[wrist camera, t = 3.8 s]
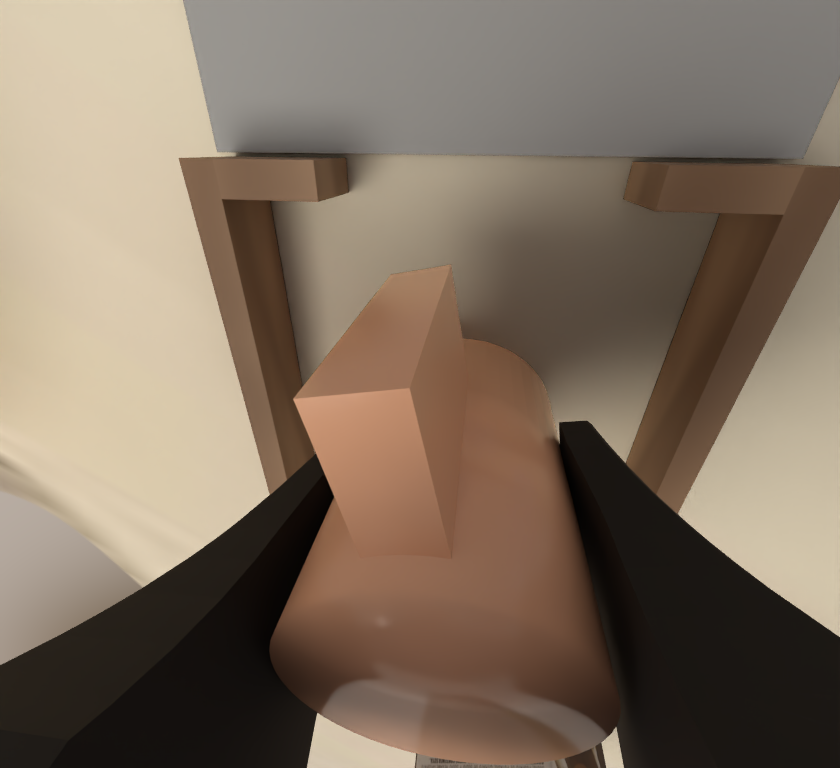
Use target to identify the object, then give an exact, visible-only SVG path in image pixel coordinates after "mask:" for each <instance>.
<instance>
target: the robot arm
mask: <svg viewBox="0 0 840 768" xmlns="http://www.w3.org/2000/svg"><path fill="white" fill-rule="evenodd" d="M559 431H560V448H561V452H562V456H563V460H564V465H565V469H566V473H567V477H568V482H569V486H570V490H571V494H572V499H573V503H574V507H575V511H576V516H577V520H578V524H579V528H580V533H581V537H582V541H583V545H584V550H585V554H586V558H587V562H588V567H589V571H590V575H591V579H592V584H593V588H594V592H595V596H596V601H597V605H598V609H599V613H600V618H601V622H602V626H603V630H604V635H605V639H606V643H607V647H608V652H609V656H610V660H611V665H612V669H613V673H614V677H615V682H616V686H617V690H618V694H619V699H620V710H621V714H620V717H619V721H618V724H617V725H616V727H617V732H618V738H619V743H620V748H621V754H622V759H623V764H624V768H840V637H839V636H837V635H836V634H834V633H833V632H831V631H830V630H829V629H827V628H826V627H824V626H823V625H821V624H820V623H819V622H817V621H816V620H814V619H813V618H811V617H810V616H808V615H807V614H806V613H804V612H803V611H801V610H800V609H798V608H797V607H795V606H794V605H793V604H791V603H790V602H788V601H787V600H785V599H784V598H783V597H781V596H780V595H778V594H777V593H775V592H774V591H772V590H771V589H770V588H768V587H767V586H766V585H764V584H763V583H762V582H760V581H759V580H758V579H756V578H755V577H754V576H752V575H751V574H750V573H748V572H747V571H746V570H744V569H743V568H742V567H740V566H739V565H738V564H736V563H735V562H734V561H733V560H731V559H730V558H729V557H728V556H726V555H725V554H724V553H723V552H721V551H720V550H719V549H718V548H716V547H715V546H714V545H713V544H711V543H710V542H709V541H708V540H707V539H705V538H704V537H703V536H702V535H701V534H700V533H698V532H697V531H696V530H695V529H694V528H693V527H691V526H690V525H689V524H688V523H687V522H686V521H684V520H683V519H682V518H681V517H680V516H679V515H678V514H677V513H676V512H675V511H673V510H672V509H671V508H670V507H669V506H668V505H667V504H666V503H665V502H664V501H663V500H662V499H660V498H659V497H658V496H657V495H656V494H655V493H654V492H653V491H652V490H651V489H650V488H649V487H648V486H647V485H646V484H645V483H644V482H643V481H642V480H641V479H640V478H639V477H638V476H637V475H636V474H635V473H634V472H633V471H632V470H631V469H630V468H629V467H628V466H627V464H626V463H625V462H624V461H623V460H622V459H621V458H620V457H619V456H618V455H617V454H616V452H615V451H614V450H613V449H612V448H611V447H610V446H609V445H608V443H607V442H606V441H605V440H604V439H603V438H602V436H601V435H600V434H599V433H598V432H597V430H596V429H595V428H594V427H593V425H592V424H591V423H589V422H588V421H575V422H559ZM333 498H334V495H333V492H332V490H331V487H330V485H329V483H328V480H327V478H326V476H325V473H324V471H323V469H322V466H321V464H320V461H319V459H318V457H317V454H315V455H314V456H313V457H312V458H311V459H309V460H308V461H307V462H306V463H305V464H304V465H303V466H302V467H301V468H300V469H299V470H297V471H296V472H295V473H294V474H293V475H292V476H291V477H290V478H289V479H287V480H286V481H285V482H284V483H283V484H282V485H281V486H280V487H279V488H277V489H276V490H275V491H274V492H273V493H272V494H271V495H269V496H268V497H267V498H266V499H265V500H263V501H262V502H261V503H260V504H259V505H257V506H256V507H255V508H254V509H253V510H251V511H250V512H249V513H248V514H247V515H246V516H244V517H243V518H242V519H241V520H240V521H238V522H237V523H236V524H234V525H233V526H232V527H231V528H229V529H228V530H227V531H225V532H224V533H223V534H221V535H220V536H219V537H217V538H216V539H215V540H213V541H212V542H211V543H209V544H208V545H206V546H205V547H204V548H202V549H201V550H199V551H198V552H197V553H195V554H194V555H192V556H191V557H189V558H188V559H187V560H185V561H183V562H182V563H180V564H179V565H177V566H176V567H174V568H173V569H171V570H170V571H168V572H166V573H165V574H163V575H162V576H160V577H159V578H157V579H156V580H154V581H153V582H151V583H149V584H148V585H146V586H145V587H143V588H142V589H140V590H138V591H137V592H135V593H134V594H132V595H130V596H128V597H127V598H125V599H123V600H122V601H120V602H118V603H117V604H115V605H113V606H112V607H110V608H108V609H106V610H104V611H103V612H101V613H99V614H97V615H96V616H94V617H92V618H90V619H89V620H87V621H85V622H83V623H81V624H79V625H78V626H76V627H74V628H72V629H70V630H68V631H67V632H65V633H63V634H61V635H59V636H57V637H55V638H53V639H51V640H49V641H47V642H45V643H43V644H41V645H39V646H38V647H35V648H34V649H31V650H29V651H28V652H26V653H24V654H22V655H20V656H18V657H16V658H14V659H12V660H10V661H8V662H6V663H4V664H2V665H0V768H307V763H308V758H309V753H310V747H311V742H312V736H313V731H314V726H315V721H316V716H317V712H316V711H314V710H313V709H311V708H310V707H309V706H307V705H306V704H305V703H303V702H302V701H301V700H300V699H299V698H297V697H296V696H295V695H294V694H293V693H292V692H291V691H290V690H289V689H288V688H287V687H286V685H285V684H284V683H283V682H282V681H281V679H280V678H279V676H278V675H277V673H276V671H275V669H274V667H273V665H272V662H271V658H270V652H269V648H270V640H271V637H272V635H273V633H274V630H275V628H276V626H277V624H278V621H279V619H280V617H281V615H282V612H283V610H284V608H285V606H286V604H287V601H288V599H289V597H290V595H291V592H292V590H293V588H294V586H295V583H296V581H297V579H298V577H299V574H300V572H301V570H302V568H303V565H304V563H305V561H306V559H307V557H308V554H309V552H310V550H311V548H312V545H313V543H314V541H315V539H316V536H317V534H318V532H319V530H320V527H321V525H322V523H323V521H324V519H325V516H326V514H327V512H328V510H329V507H330V505H331V503H332V501H333Z"/></svg>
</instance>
